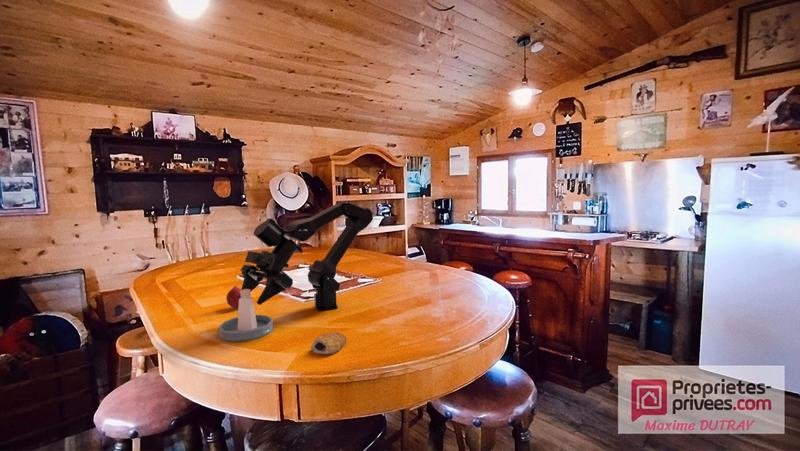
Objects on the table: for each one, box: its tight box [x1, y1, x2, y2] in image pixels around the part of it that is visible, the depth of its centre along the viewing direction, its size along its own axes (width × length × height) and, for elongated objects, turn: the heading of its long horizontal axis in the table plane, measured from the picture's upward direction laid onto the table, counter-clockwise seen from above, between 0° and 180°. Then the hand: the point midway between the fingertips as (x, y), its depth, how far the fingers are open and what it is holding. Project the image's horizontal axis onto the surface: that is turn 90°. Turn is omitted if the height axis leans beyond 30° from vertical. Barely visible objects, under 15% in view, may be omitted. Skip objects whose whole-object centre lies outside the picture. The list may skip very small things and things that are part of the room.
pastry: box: [310, 332, 347, 355], centre depth 94 cm, size 9×7×4 cm
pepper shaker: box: [237, 289, 257, 331], centre depth 105 cm, size 5×5×11 cm
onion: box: [225, 284, 241, 309], centre depth 126 cm, size 6×6×8 cm
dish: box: [218, 314, 274, 343], centre depth 105 cm, size 14×14×2 cm
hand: (248, 301), depth 105 cm, fingers open, 9 cm apart
